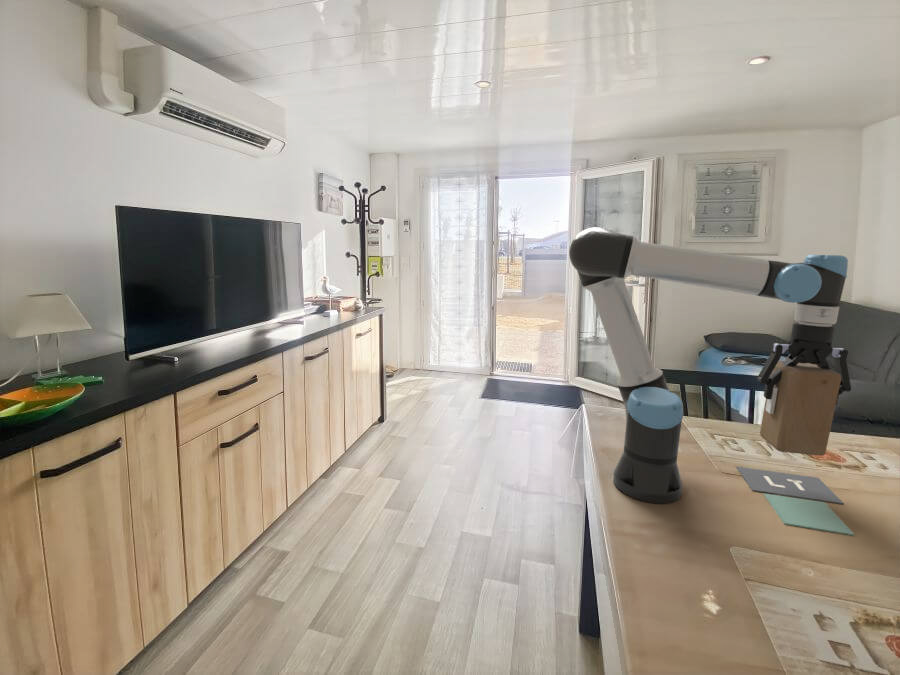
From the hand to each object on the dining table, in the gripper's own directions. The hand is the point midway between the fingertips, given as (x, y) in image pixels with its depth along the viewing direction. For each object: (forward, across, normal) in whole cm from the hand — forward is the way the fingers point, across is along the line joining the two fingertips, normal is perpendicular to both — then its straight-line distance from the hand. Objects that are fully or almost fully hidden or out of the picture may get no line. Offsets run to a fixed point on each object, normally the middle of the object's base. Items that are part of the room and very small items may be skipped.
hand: (796, 414), depth 104 cm
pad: (+18, 0, -13) cm, 22 cm away
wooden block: (+8, 0, 0) cm, 8 cm away
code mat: (+18, +1, 0) cm, 18 cm away
